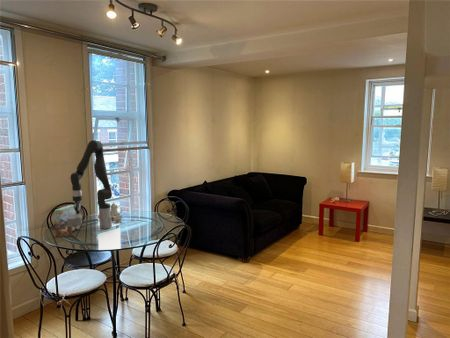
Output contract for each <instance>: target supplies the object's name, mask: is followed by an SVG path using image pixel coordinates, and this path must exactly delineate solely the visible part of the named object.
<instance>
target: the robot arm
mask: <svg viewBox="0 0 450 338" xmlns="http://www.w3.org/2000/svg"><path fill="white" fill-rule="evenodd" d="M103 148H104V147H103V144H102V142H101V141H99V140H94V139H92V140H90V141H89V142H88V144H87V146H86V148H85V151H84V153H83V154H82V155H83V156H82V157H81V160H80V161H79V163H78V164H77V166H76V171H75V172H72V173H71V174H70V178H69V179H70V182H71V185H72V186H71V188H72V191H71V192H72V193H71V195H72V202H74V204H73V205H75V206H74V209H75V213H76V214H81V212H80V210H81V207H82V200H83V191H82V184H81V183H80V180H81V179H82V178H83V176H84V174H85V171H86V170H87V168H88V166H89V164H90V160H91V157H92V155H93V153H94V156H95V161H94V164H93V165H94V166H93V168H94V169H93V170H94V174H95V176H96V177H97V179H98V180H99V181H100V182H101V184H102V186H103V188H101V189H98V190H97V195H96V196H97V197H96V198H97V205H98V214H99V219H98V221H99V222H98V223H99V228H100V229H101V230H102V229H103V230H104V229H105V230H106V229H111V228H112V226H113V225H112V223H113V222H112V219H111V206H110V205H111V203H108V202H106V200H110V199H111V198H112V197H113V192H112V188H111V185H110V182H109V176H108V172H107V166H106V161H105V157H104V149H103Z"/></svg>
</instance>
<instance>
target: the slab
mask: <svg viewBox="0 0 450 338" xmlns="http://www.w3.org/2000/svg"><path fill="white" fill-rule="evenodd" d="M82 216H83V215H82V213H80V214H70V215H68V219H67V223H66V224H67V226H77V225H80V226H81V225H82V223H83V222H82V220H83V219H82Z"/></svg>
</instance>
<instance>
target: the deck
mask: <svg viewBox="0 0 450 338" xmlns="http://www.w3.org/2000/svg"><path fill="white" fill-rule="evenodd" d="M66 226H67V231H68V234H61V233H60V230H61V226H55V225H54V232H55V233H54V234H55V237H56V238H57V237H58V238H59V237H60V238H61V237H73V236H74V233H73V232H74V231H72V226H68V225H66Z"/></svg>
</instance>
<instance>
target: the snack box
mask: <svg viewBox="0 0 450 338" xmlns="http://www.w3.org/2000/svg"><path fill="white" fill-rule="evenodd" d="M74 206H75V204H68V205H65V206H63V207H62V206H61V207H59V208H57V209H54V227H55V226H60V227H61V226H63V224H64V225H66V224H68V223H67V219H68V215H70V214H76V211H75V209H74Z"/></svg>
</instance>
